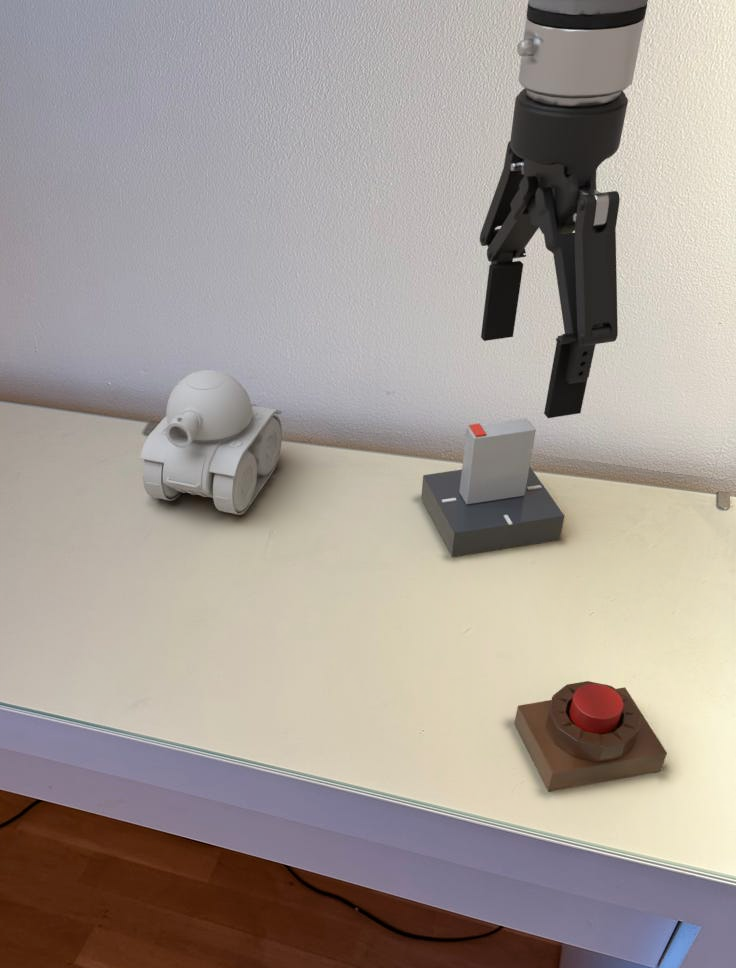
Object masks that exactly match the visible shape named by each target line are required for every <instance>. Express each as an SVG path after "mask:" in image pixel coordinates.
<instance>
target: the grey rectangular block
mask: <svg viewBox="0 0 736 968" xmlns="http://www.w3.org/2000/svg"><path fill="white" fill-rule="evenodd" d="M465 432H466V433H465V439H464V449H463V458H462V465H461V470H462V474H461V482H460V491H459V492H460V494H461V496H462V498H463V499H464V501H465V503H466V504H473V503H480V502H486V501H493V500H500V499H506V498H513V497H519V496H524V495H525V490H526V484H527V479H528V473H529V467H531V460H532V455H533V449H534V443H535V437H536V428H535V427H534V425H533V424H532V422H531V421H530V420H529V419H528V418H527V417H526V418H525V417H524V418H518V419H512V420H505V421H504V420H503V421H497V422H490V423H483V424H481V423H473V424H469V425H468V426H466V431H465Z"/></svg>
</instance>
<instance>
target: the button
mask: <svg viewBox="0 0 736 968" xmlns="http://www.w3.org/2000/svg"><path fill="white" fill-rule="evenodd" d="M601 684H602V683H600V684H587V685H583V686H581V687H580V688H578V689H577V690H576V691H575V693H574V696H573V700H572V703H571V707H570V717H571V719H572V721H573V723H574V724H575V725H576V726H577V727H579V728H580V729H582V730H584V731H586V732H591V733H595V734H604V733H608V732H610V731H612V730H614V729H615V728H616V727H617V725H618V723H619V720H620V717H621V713H622V710H623V700H622V698H621V696H620V695H619V694H618V693H617V692H616V691H615V690H613V689H612V688H610V687H607V686H605V685H606V684H605V685H601Z"/></svg>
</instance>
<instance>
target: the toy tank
mask: <svg viewBox="0 0 736 968" xmlns="http://www.w3.org/2000/svg"><path fill="white" fill-rule="evenodd" d="M165 413H166V415H165V416H164V418H162V420H161V421H160V422H159V423H158V424H157V426H155V428H154V429H153V430H152V431H151V432H150V433H149V435H148V436H147V438H146V440H145V441H144V444H143V446H142V448H141V451H140V455H139V459H140V460H143V465H142V482H143V483H142V484H143V487H144V491H145V492H146V494H147V495H148V496H149V497H151V498H156V499H160V500H164V501H170V502H172V501H175V500H176V499H177V498H179V497H180V495H182V493H183V494H185V493H187V494H190V495H193V496H196V495H198V496H201V497H203V498H206V497H207V498H212V500H213V504H214V506H215V508H216V509H217V510H218V511H219V512H222V513H228V514H233V515H238V516H242V515H243V514H245V513H246V512H247V511H248V509H249V507H250V506H251V505H252V503H253V502H254V500H255V499H256V498H257V496H258V495H259V493H260V491H261V490H262V489H263V487H264V486H265V484H266V483H267V481H268V480H269V479H270V477H271V476H272V474H273V473H274V471H275V469H276V467H277V464H278V461H279V458H280V454H281V450H282V441H283V427H282V422H281V419H280V417H279V416H278V415H281V414H282V411H281V410H280V409H277V408H271V407H270V408H269V407H264V406H259V405H257V404H256V403H254V402H251V397H250V396H249V394H248V392H247V390H246V389H245V387H244V385H243V384H242V383H240V381H238V380H237V379H236V378H235V377H233V376H232V375H230V374H228V373H226V372H224V371H221V370H215V369H203V370H197V371H194V372H192V373H189V374H188V375H186V376H185V377H184V378H182V379H181V380H180V381H179V382H177V384H176V385H175V386H174V388H173V389H172V391H171V393H170V395H169V397H168V400H167V405H166V412H165Z"/></svg>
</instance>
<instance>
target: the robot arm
mask: <svg viewBox="0 0 736 968" xmlns="http://www.w3.org/2000/svg"><path fill="white" fill-rule="evenodd" d="M648 2H649V0H528V3H527V6H526V17H525V18H526V19H525V23H524V24H525V25H524V32H523V33H524V34H523V40H520V41H519V42H518V43H517V54H518V55H519V57H520V64H519V74H518V82H519V85H521V87H523V89H522V90H521V91H520V92H519V93H518V94H517V95H516V97H515V99H514V100H515V101H514V108H513V116H512V123H511V132H510V140H509V141H508V142H507V146H506V151H505V158H504V164H503V168H502V171H501V174H500V177H499V180H498V183H497V186H496V188H495V191H494V194H493V197H492V199H491V202H490V205H489V208H488V211H487V214H486V217H485V220H484V222H483V225H482V228H481V231H480V234H479V242H480V243H479V244H480V245H481V246H482V247H486V246H487V249H486V257H487V261H488V262H490V264H489V265H488V274H487V283H486V292H485V300H484V307H483V309H484V310H483V317H482V325H481V333H480V339H481V340H483V342H487V341H493V340H500V339H501V340H503V339H507V338H513V337H514V334H515V333H514V332H515V326H516V325H515V324H516V320H517V319H516V318H517V312H518V305H519V297H520V290H521V284H522V276H523V271H524V270H523V269H524V263H523V262H522V261H520V260H517V261H516V260H515V261H514V259H521V258H526V257H527V254H526V247H527V246H528V244H529V243H530V241H531V239H532V238H533V237H534V236H535V234H536V233H537V231H538V230H540V232H541V233H542V235H543V238H544V244H545V245H544V246H545V247H546V250H547V251H549V252H550V253H552V255H553V262H554V270H555V275H556V282H557V283H556V284H557V289H558V290H557V291H558V296H559V303H560V310H561V316H562V317H561V318H562V324H563V331H564V333H562V334H560V335H557V337H555V342H556V343H555V350H554V355H553V360H552V367H551V373H550V377H549V383H548V388H547V395H546V400H545V405H544V411H543V414H544V416H545V417H546V418H547V419H553V418H559V417H566V416H571V415H580V414H581V412H582V408H583V403H584V397H585V394H586V388H587V383H588V379H589V377H590V373H591V368H592V363H593V358H594V354H595V349H596V346H597V345H601V344H607V343H612V342H616V340H617V339H618V335H619V331H618V327H619V324H618V323H619V322H618V279H617V278H618V277H617V276H618V275H617V231H616V230H617V229H616V228H617V222H618V215H619V209H620V193H619V192H618V191H617V190H612V191H605V192H601V191H598V190H597V170H598V168H599V166H600V165H601V164H602V163H603V162H604V161H605V160H607V159H609V158H611V157H612V156H613V155H615V154H616V153H617V151H618V150H619V148H620V145H621V139H622V135H623V130H624V124H625V119H626V114H627V109H628V103H629V99H628V97H627V95H626V93H625V92H624V91H625V90H626V89H627V88H629V87H630V86H631V85H632V84H633V82H634V81H633V80H634V76H635V69H636V66H637V65H636V64H637V59H638V53H639V48H640V43H641V39H642V38H641V37H642V33H643V28H644V23H645V17H646V14H647V9H648ZM498 227H500V228H498Z"/></svg>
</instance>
